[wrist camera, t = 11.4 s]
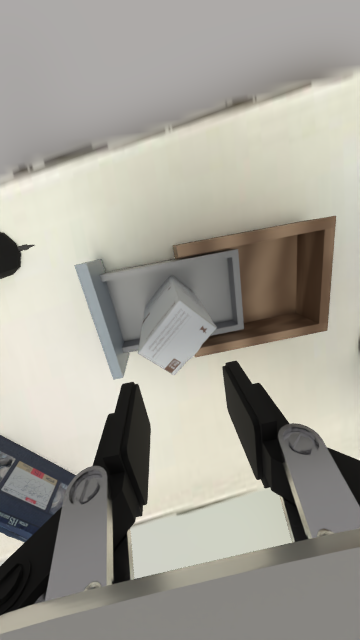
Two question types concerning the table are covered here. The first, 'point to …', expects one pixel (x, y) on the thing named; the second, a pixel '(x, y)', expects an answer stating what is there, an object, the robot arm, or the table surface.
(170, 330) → the skincare box
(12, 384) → the table surface
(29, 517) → the vhs cassette tape
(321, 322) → the housing
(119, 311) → the tray
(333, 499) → the robot arm
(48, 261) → the table surface
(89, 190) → the table surface
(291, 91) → the table surface
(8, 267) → the gaming mouse
